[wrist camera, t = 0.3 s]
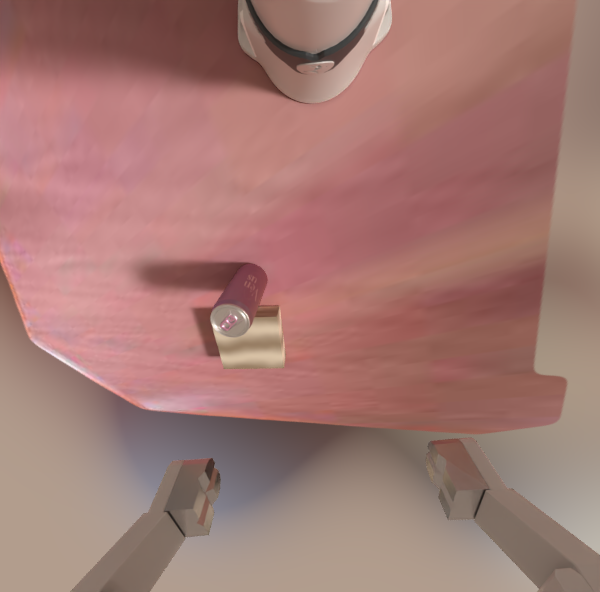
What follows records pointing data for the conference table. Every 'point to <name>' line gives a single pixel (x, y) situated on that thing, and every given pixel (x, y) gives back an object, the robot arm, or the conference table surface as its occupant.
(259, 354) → the ash base block
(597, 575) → the robot arm
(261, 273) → the beverage can
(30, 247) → the conference table surface
